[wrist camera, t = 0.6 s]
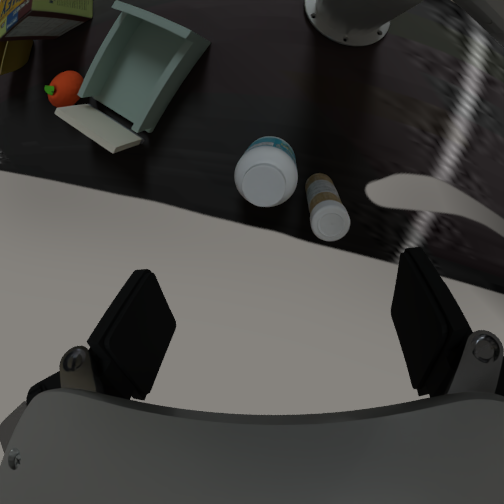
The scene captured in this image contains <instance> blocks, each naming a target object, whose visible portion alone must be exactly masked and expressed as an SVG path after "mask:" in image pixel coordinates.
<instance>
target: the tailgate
mask: <svg viewBox="0 0 504 504" xmlns="http://www.w3.org/2000/svg"><path fill="white" fill-rule="evenodd" d="M55 114H56V115H57V116H59V117H60V118H61V119H63V120H64V121H66V122H67V123H69V124H70V125H72V126H73V127H75V128H76V129H78V130H79V131H80V132H82V133H83V134H85V135H86V136H88V137H89V138H91V139H92V140H94V141H95V142H97V143H98V144H99V145H101V146H102V147H104V148H105V149H107V150H108V151H110V152H111V153H113V154H114V153H116V152H119V151H122V150H125V149H127V148H130V147H133V146H136V145H139V144H140V143H141V144H143V143H144V141H145V139H143V138H142V137H140V136H139V135H137V134H136V133H134V132H133V131H131V130H130V129H128V128H126V127H125V126H123V125H122V124H120V123H119V122H117V121H116V120H114V119H112V118H111V117H109V116H108V115H106V114H105V113H103V112H101V111H100V110H98V109H97V108H95V107H93V106H92V105H90V104H82V105H73V106H66V107H58V108H57V109H56V111H55Z"/></svg>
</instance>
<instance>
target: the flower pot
mask: <svg viewBox="0 0 504 504" xmlns="http://www.w3.org/2000/svg"><path fill="white" fill-rule="evenodd" d="M32 45H33V40H16V41H4V42H0V75H3V74H6V73H9V72H12V71H15V70H17V69H19V68H21V67H22V66H24V65H25V64H26V63H27V62H28V59H29V56H30V52H31V48H32Z"/></svg>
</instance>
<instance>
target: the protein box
mask: <svg viewBox="0 0 504 504" xmlns="http://www.w3.org/2000/svg"><path fill="white" fill-rule="evenodd" d="M92 9H93V0H1V2H0V42H4V41H16V40H37V39H53V40H55V39H57V38H58V37H60V36H61V35H63V34H65V33H67V32H68V31H70V30H72V29H74V28H75V27H77V26H79V25H81V24H83V23H85V22H86V21H88V20H90V19H92Z"/></svg>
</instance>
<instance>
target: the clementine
mask: <svg viewBox="0 0 504 504" xmlns="http://www.w3.org/2000/svg"><path fill="white" fill-rule="evenodd" d="M83 81H84V80H83V78H82V76H81V75H80V74H79V73H77V72H75V71H65V72H62V73H60V74H58V75H57V76H56V77H55V78H54V79H53V80H52V81H51V83H50V85H49V86H47V85H45V88H44V89H45V92H46V93H48V99H49V101H50V102H51V104H52V105H53V106H55V107H57V108H58V107H66V106H72V105H74V104H75V103H76V102H77V101H78V100H79V99H80V96H78V95H77V94H78V92H79V90H80V87H81V85H82V83H83Z"/></svg>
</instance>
